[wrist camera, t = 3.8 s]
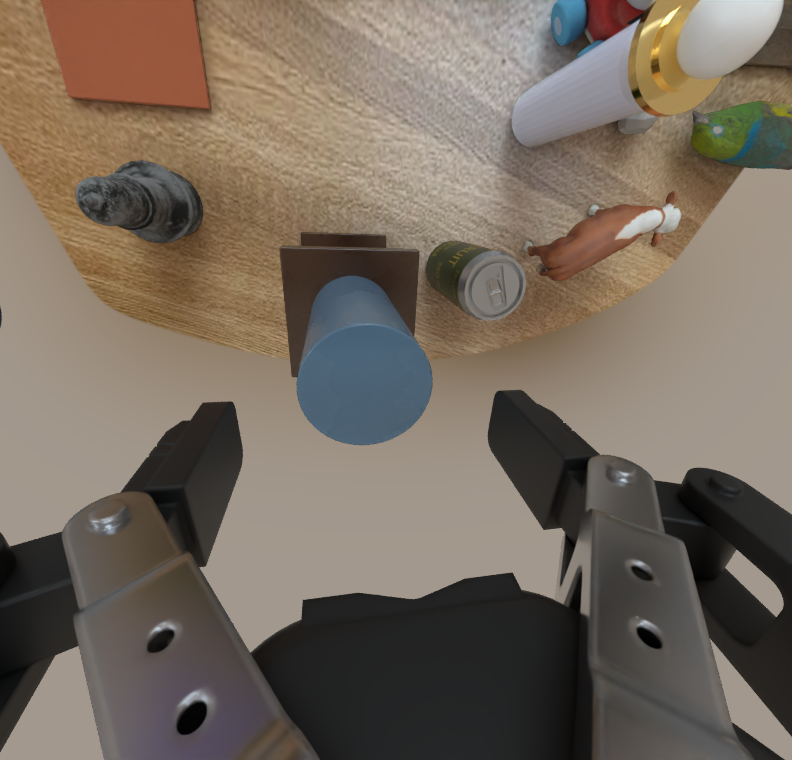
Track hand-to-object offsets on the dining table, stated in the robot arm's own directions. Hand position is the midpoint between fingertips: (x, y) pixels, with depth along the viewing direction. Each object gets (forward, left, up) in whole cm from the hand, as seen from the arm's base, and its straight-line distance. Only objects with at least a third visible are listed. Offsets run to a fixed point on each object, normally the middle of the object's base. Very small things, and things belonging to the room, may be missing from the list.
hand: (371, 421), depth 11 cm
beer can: (+11, +1, -28) cm, 30 cm away
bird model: (+42, +17, -26) cm, 52 cm away
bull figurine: (+24, +5, -28) cm, 38 cm away
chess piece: (-15, +6, -28) cm, 33 cm away
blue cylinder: (0, 0, -12) cm, 12 cm away
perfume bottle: (+17, +14, -28) cm, 36 cm away
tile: (-15, +17, -28) cm, 36 cm away
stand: (0, 0, -28) cm, 28 cm away
